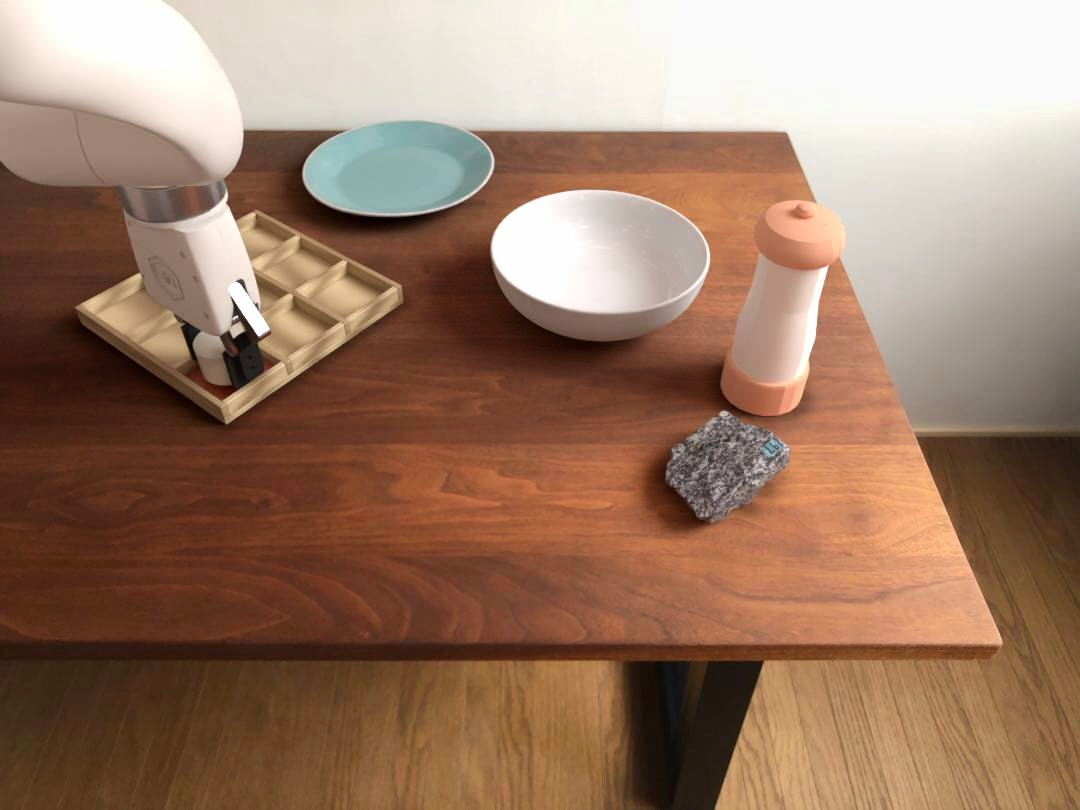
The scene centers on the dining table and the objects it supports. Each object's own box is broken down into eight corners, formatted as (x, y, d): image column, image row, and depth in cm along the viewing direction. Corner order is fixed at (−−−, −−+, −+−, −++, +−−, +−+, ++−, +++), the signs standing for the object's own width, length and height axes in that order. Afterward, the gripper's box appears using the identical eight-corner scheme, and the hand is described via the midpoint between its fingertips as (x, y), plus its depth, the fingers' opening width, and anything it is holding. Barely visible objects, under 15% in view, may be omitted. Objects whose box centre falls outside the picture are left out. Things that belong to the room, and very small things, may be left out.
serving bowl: (731, 355, 84) (743, 297, 79) (512, 385, 81) (512, 326, 76) (664, 233, 99) (671, 178, 94) (476, 254, 95) (474, 198, 91)
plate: (266, 188, 104) (261, 166, 102) (405, 121, 117) (403, 100, 115) (395, 262, 94) (393, 239, 92) (533, 180, 106) (533, 158, 104)
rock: (638, 481, 73) (642, 445, 70) (725, 427, 77) (733, 392, 74) (703, 541, 69) (711, 506, 66) (793, 481, 73) (804, 446, 70)
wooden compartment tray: (226, 425, 77) (220, 407, 75) (81, 324, 86) (74, 307, 85) (403, 302, 89) (401, 285, 88) (260, 225, 99) (256, 209, 97)
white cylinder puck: (225, 393, 77) (216, 366, 75) (190, 370, 79) (181, 342, 77) (268, 364, 80) (261, 337, 78) (234, 342, 82) (226, 315, 80)
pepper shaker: (795, 363, 83) (847, 181, 70) (807, 418, 78) (865, 233, 65) (717, 359, 84) (754, 177, 70) (723, 414, 79) (764, 229, 65)
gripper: (62, 168, 68) (135, 348, 81) (201, 248, 61) (257, 433, 74) (146, 131, 72) (203, 308, 85) (286, 202, 65) (325, 384, 78)
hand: (228, 364), depth 79 cm, fingers closed on white cylinder puck, 4 cm apart
